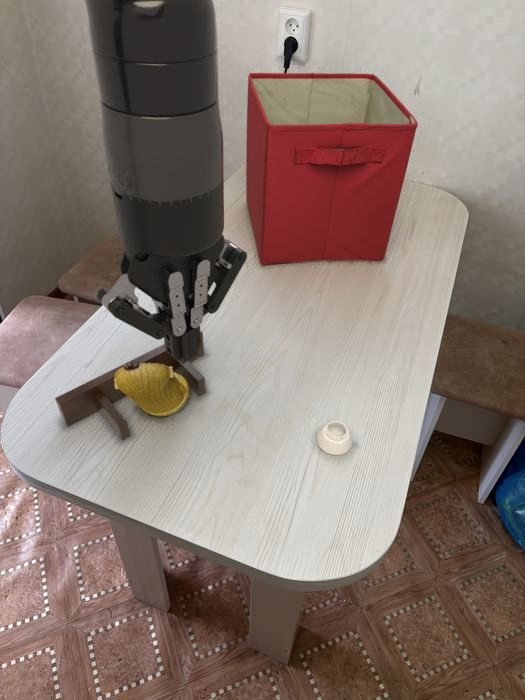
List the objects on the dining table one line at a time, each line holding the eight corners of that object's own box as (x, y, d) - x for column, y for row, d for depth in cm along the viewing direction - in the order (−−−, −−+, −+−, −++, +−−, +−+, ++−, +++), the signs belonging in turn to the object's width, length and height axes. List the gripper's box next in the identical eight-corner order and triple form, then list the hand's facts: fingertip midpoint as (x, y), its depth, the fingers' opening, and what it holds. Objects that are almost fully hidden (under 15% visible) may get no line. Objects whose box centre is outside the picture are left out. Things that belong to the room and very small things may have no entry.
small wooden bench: (90, 459, 69) (83, 437, 65) (63, 420, 73) (54, 398, 70) (230, 378, 80) (230, 356, 77) (198, 349, 85) (197, 327, 81)
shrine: (171, 448, 70) (161, 374, 60) (117, 436, 71) (97, 362, 61) (197, 389, 79) (192, 315, 68) (147, 379, 80) (135, 304, 69)
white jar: (321, 424, 75) (312, 450, 71) (323, 411, 73) (315, 437, 69) (354, 433, 74) (347, 461, 70) (358, 421, 72) (350, 448, 68)
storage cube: (391, 267, 105) (428, 124, 85) (260, 273, 102) (267, 126, 82) (350, 195, 128) (372, 69, 108) (243, 198, 125) (245, 68, 105)
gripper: (213, 130, 39) (217, 306, 51) (46, 174, 32) (96, 365, 44) (278, 164, 35) (266, 347, 47) (103, 222, 28) (141, 417, 40)
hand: (183, 355), depth 45 cm, fingers closed
